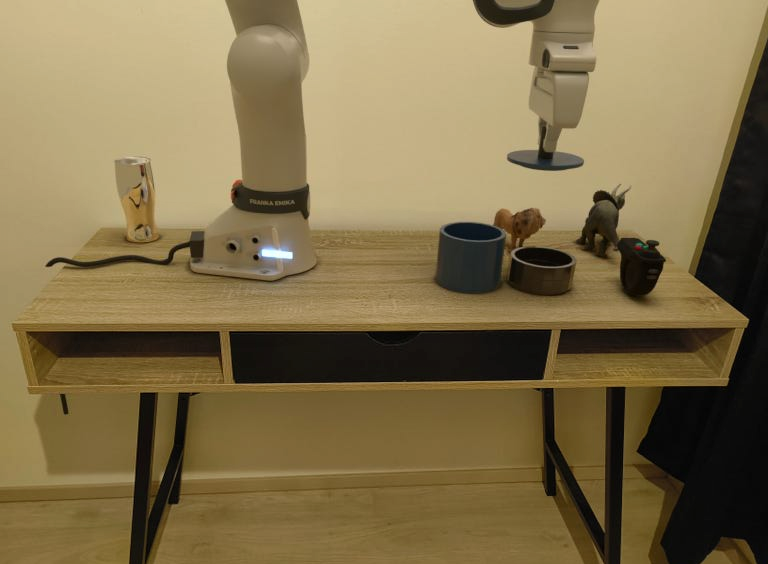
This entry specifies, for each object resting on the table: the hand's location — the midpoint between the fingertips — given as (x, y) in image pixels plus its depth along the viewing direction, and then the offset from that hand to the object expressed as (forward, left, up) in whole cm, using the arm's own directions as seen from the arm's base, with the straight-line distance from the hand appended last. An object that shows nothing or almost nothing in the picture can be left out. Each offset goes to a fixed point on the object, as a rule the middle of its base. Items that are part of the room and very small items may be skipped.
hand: (546, 149), depth 108 cm
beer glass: (-72, +17, -23) cm, 78 cm away
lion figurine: (+1, +20, -23) cm, 31 cm away
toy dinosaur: (+18, +20, -23) cm, 35 cm away
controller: (+18, -2, -23) cm, 29 cm away
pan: (+2, 0, -23) cm, 23 cm away
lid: (0, 0, -2) cm, 2 cm away
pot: (-10, 0, -23) cm, 25 cm away
